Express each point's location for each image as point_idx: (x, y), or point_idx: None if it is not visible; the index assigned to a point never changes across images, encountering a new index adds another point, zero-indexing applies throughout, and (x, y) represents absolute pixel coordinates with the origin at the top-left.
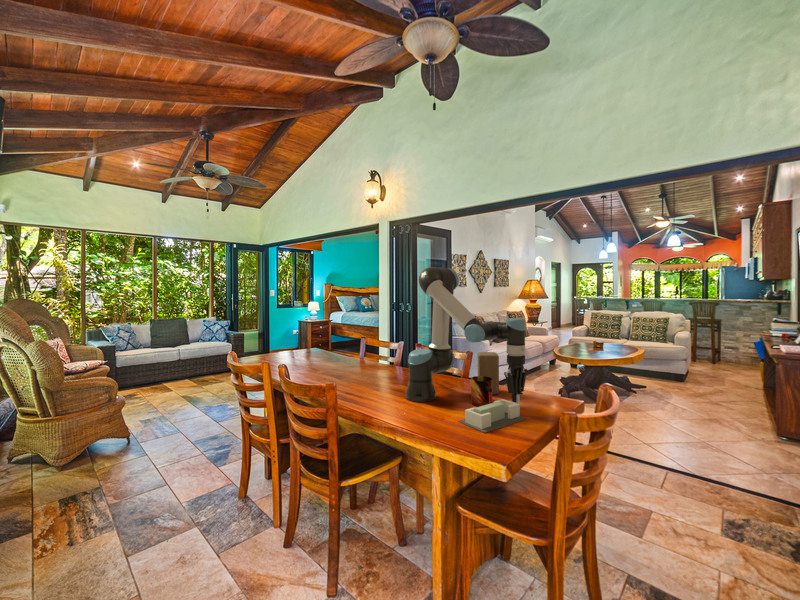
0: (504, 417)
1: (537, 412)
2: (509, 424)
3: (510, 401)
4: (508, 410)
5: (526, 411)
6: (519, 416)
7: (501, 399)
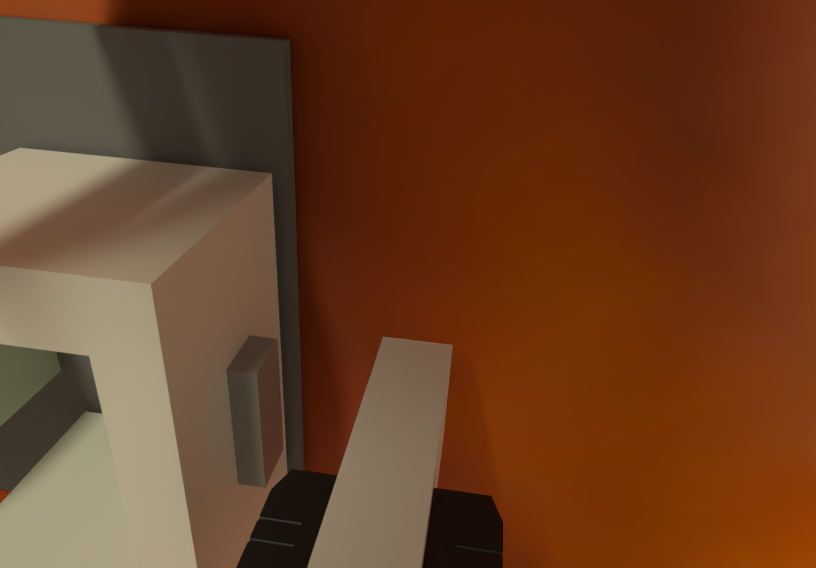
0: (51, 376)
1: (702, 533)
2: (3, 483)
3: (184, 497)
4: (2, 514)
5: (629, 418)
6: (295, 468)
7: (91, 281)
